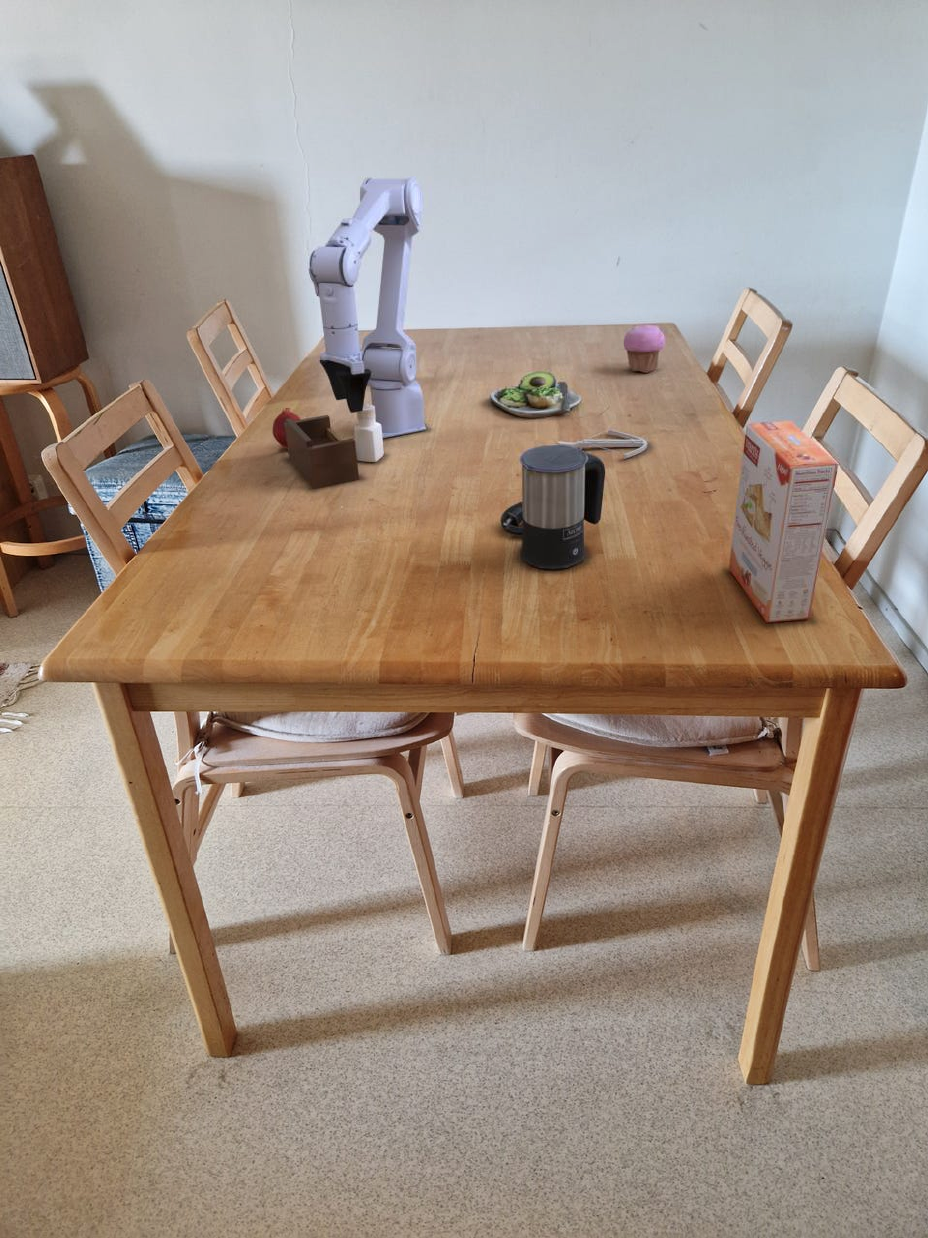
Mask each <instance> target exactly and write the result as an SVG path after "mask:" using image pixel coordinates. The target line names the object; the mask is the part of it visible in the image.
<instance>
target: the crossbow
mask: <svg viewBox="0 0 928 1238" xmlns="http://www.w3.org/2000/svg"><path fill="white" fill-rule="evenodd" d="M605 432H607V434H609V435H612V436H616V437H621V438H624V439H593V437H597V436H599V435H602V434H604V433H605ZM557 445H565V446H570V447H575V448H577V449H580V450H584V448H587V447H588V448H596V447H597V448H600V449H604V450H606V451H607V450H608V451H610V452H614V453H617V454H620V455H623V456H622V459H623V460H626V459H628V458H631V457H634V456H636V455H639V454H640V453H642V452H643V451H646V449H647V448H648V442H647V440H646V439H643V438H642V437H639V436H636V435H633V434H629V433H626V432H622V431H617V430H614V429H611V428H609V429H607V430H604V431H603V432H600V433H598V434H595V435H593V436H591V437H589V438H584V439H580V440H576V441H574V442H571V441H561V440H560V441H559V440H557ZM609 448H636V449H634V450H632V451H630V452H627V453H622V452H618V451H616V450H612V449H609Z"/></svg>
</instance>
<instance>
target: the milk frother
mask: <svg viewBox="0 0 928 1238" xmlns="http://www.w3.org/2000/svg"><path fill="white" fill-rule="evenodd" d="M519 462H520V464H521V501H519V502H517V503H515V504H513V505H511V506H509V507H508V508H506V509H505V510H504V512H502V514H501V516H500V525H501V528H502V529H503V530H504V531H505V532H507V533H509V534H510V535H514V536H521V549H520V551H519V552H520V553H519V555H520V558H521V559H522V560H523V562H525V563H526V564H527V565H530V566H531V567H534V568H537V569H544V570H563V569H569V568H571V567H574V566H577V565H578V564H580V563H582V561H583V560H584V559H585V558H586V548H585V522H587V523H589V524H592V525H597V524H599V523H600V522H601V519H602V518H601V517H602V508H603V500H604V491H605V481H606V480H605V479H606V467H605V463H604V462H603V461H602V459H601V458H600V457H598V456H596V455H594V454H592V453H588V452H585V451H584V450H583V449H581V450H580V449H579V448H575V447H570V446H565V445H558V444H548V445H539V446H536V447H531V448H529V449H527V450H525V451H523V452H522V453H521V455H519ZM584 521H585V522H584ZM521 524H522V526H520V525H521Z"/></svg>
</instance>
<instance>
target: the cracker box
mask: <svg viewBox="0 0 928 1238" xmlns="http://www.w3.org/2000/svg"><path fill="white" fill-rule="evenodd" d="M838 468H839V462H838V461H837V460H835V459H834V458H833V456H831V455H830V454H828V452H827V451H825V450H824V449H823V448H822V447H820V446H819V445H818V444H817V443H816V442H815V441H814V440H812V439H811V437H809V436H808V435H807V434H806V433H804V431H802V430H801V429H800V428H799V427H797V426H796V425H795V424H794V423H793V422H792V421H791V420H780V421H763V422H762V421H761V422H753V423H748V424H746V425H745V434H744V442H743V451H742V457H741V467H740V474H739V483H738V491H737V498H736V499H737V500H736V507H735V514H734V523H733V530H732V531H733V533H732V538H731V539H732V540H731V547H730V555H729V564H728V569H729V571H730V572H731V574H732V576H733V577H734V578H735V579H736V581H737V582H738V584H739V585H740V586H741V588H742V589H743V591H744V592H745V594H746V595H747V597H748V598H749V600H750V601H751V602H752V604H753V606H754V607H755V609H756V610H757V611H758V613H759V614H760V616H761V617H762V619H763V620H764V622H765V623H767V624H768V623H778V622H779V623H780V622H789V621H790V622H791V621H801V620H809V619H810V618H811V614H812V609H813V604H814V598H815V597H814V596H815V592H816V587H817V581H818V575H819V570H820V566H821V561H822V560H821V559H822V554H823V550H824V545H825V540H826V534H827V527H828V522H829V517H830V513H831V512H830V511H831V508H832V507H831V506H832V501H833V496H834V491H835V486H836V481H837V475H838V471H839V470H838Z"/></svg>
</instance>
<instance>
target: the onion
mask: <svg viewBox="0 0 928 1238" xmlns="http://www.w3.org/2000/svg"><path fill="white" fill-rule="evenodd" d="M289 418H291V419H292V420H293V421H296V420H302V418H300V416H298V415H297V414H295V413H294V412H292V411H291V408H290V407H289V406H284V407H283V409H282V411H281V413H279V414H278V415H277V416H276V417H275V419H274V421H273V423H272V435H273V438H274V439H275V441H276V442H277V443H278V444H279V445H280V446H282V447H284V448H286V449H288V445H287V438H286V431H285V424H284V423H285V422H286V421H285V419H289Z"/></svg>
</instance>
